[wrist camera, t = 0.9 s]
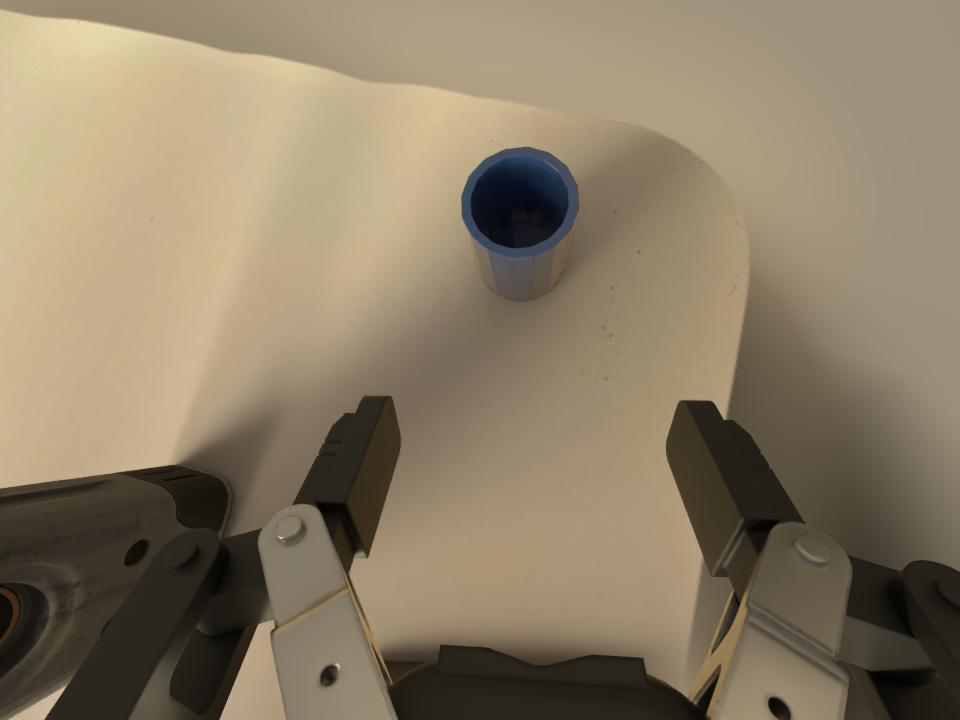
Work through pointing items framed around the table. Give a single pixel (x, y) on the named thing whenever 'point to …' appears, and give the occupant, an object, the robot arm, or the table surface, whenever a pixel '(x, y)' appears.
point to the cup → (520, 220)
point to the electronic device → (84, 563)
